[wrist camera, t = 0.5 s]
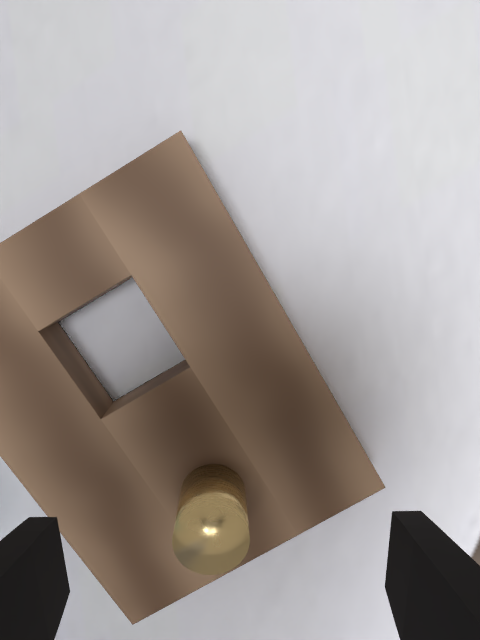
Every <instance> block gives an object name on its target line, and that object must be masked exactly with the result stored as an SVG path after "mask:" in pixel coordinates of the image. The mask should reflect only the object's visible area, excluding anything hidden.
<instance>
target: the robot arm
mask: <svg viewBox="0 0 480 640" xmlns="http://www.w3.org/2000/svg"><path fill="white" fill-rule="evenodd" d="M385 589H386V592H387V596H388V599H389V603H390V607H391V610H392V614H393V617H394V620H395V624H396V627H397V630H398V634H399V637H400V640H480V566H479V565H478V564H477V563H476V562H475V561H474V560H473V559H472V558H471V557H470V556H469V555H468V554H467V553H465V552H464V551H463V550H462V549H461V548H460V547H459V546H458V545H457V544H456V543H455V542H454V541H453V540H452V539H451V538H449V537H448V536H447V535H446V534H445V533H444V532H443V531H442V530H441V529H440V528H439V527H438V526H437V525H436V524H435V523H434V522H432V521H431V520H430V519H429V518H428V517H427V516H426V515H425V514H424V513H423V512H422V511H392V520H391V530H390V540H389V550H388V560H387V570H386V580H385ZM69 593H70V589H69V583H68V577H67V571H66V566H65V560H64V554H63V548H62V543H61V537H60V531H59V525H58V520H57V517H29V518H28V519H26V520H25V521H24V522H23V523H21V524H20V525H19V526H18V527H16V528H15V529H14V530H13V531H11V532H10V533H9V534H8V535H7V536H6V537H4V538H3V539H2V540H1V541H0V640H54V638H55V635H56V633H57V630H58V627H59V624H60V621H61V618H62V615H63V612H64V608H65V605H66V602H67V599H68V596H69Z"/></svg>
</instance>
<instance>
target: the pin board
mask: <svg viewBox="0 0 480 640" xmlns="http://www.w3.org/2000/svg"><path fill="white" fill-rule="evenodd" d="M132 277H133V278H134V280H135V282H136V283H137V285H138V286H139V288H140V289H141V291H142V292H143V294H144V296H145V297H146V299H147V300H148V302H149V303H150V305H151V307H152V308H153V310H154V311H155V313H156V314H157V316H158V317H159V319H160V321H161V322H162V324H163V325H164V327H165V328H166V330H167V331H168V333H169V335H170V336H171V338H172V339H173V341H174V342H175V344H176V345H177V347H178V349H179V350H180V352H181V353H182V355H183V356H184V358H185V359H186V360H184V361H182V362H180V363H179V364H177V365H175V366H174V367H172V368H170V369H168V370H167V371H165V372H163V373H162V374H160V375H158V376H156V377H155V378H153V379H151V380H150V381H148V382H146V383H144V384H143V385H141V386H139V387H138V388H136V389H134V390H132V391H131V392H129V393H127V394H126V395H124V396H122V397H120V398H119V399H117V400H115V401H114V402H113V401H112V399H111V398H110V396H109V395H108V393H107V392H106V391H105V389H104V388H103V386H102V385H101V383H100V382H99V380H98V379H97V378H96V376H95V375H94V373H93V372H92V370H91V369H90V368H89V366H88V365H87V363H86V362H85V360H84V359H83V358H82V356H81V355H80V353H79V352H78V350H77V349H76V348H75V346H74V345H73V343H72V342H71V340H70V339H69V338H68V336H67V335H66V333H65V332H64V330H63V329H62V327H61V326H60V325H59V323H58V322H59V321H61V320H62V319H64V318H66V317H67V316H69V315H71V314H72V313H74V312H76V311H77V310H79V309H81V308H82V307H84V306H86V305H87V304H89V303H91V302H92V301H94V300H96V299H97V298H99V297H101V296H102V295H104V294H106V293H107V292H109V291H110V290H112V289H114V288H115V287H117V286H119V285H120V284H122V283H124V282H125V281H127V280H129V279H130V278H132ZM0 456H1V458H2V459H3V460H4V461H5V463H6V464H7V465H8V467H9V468H10V469H11V470H12V472H13V473H14V474H15V475H16V477H17V478H18V479H19V481H20V482H21V483H22V484H23V486H24V487H25V488H26V489H27V491H28V492H29V493H30V495H31V496H32V497H33V498H34V500H35V501H36V502H37V503H38V505H39V506H40V507H41V509H42V510H43V511H44V512H45V514H46V515H47V516H48V517H57V520H58V525H59V531H60V533H61V534H62V535H63V537H64V538H65V539H66V540H67V542H68V543H69V544H70V545H71V547H72V548H73V549H74V551H75V552H76V553H77V554H78V556H79V557H80V558H81V559H82V561H83V562H84V563H85V565H86V566H87V567H88V568H89V570H90V571H91V572H92V573H93V575H94V576H95V577H96V579H97V580H98V581H99V582H100V584H101V585H102V586H103V587H104V589H105V590H106V591H107V593H108V594H109V595H110V596H111V598H112V599H113V600H114V601H115V603H116V604H117V605H118V607H119V608H120V609H121V610H122V612H123V613H124V614H125V616H126V617H127V618H128V619H129V621H130V622H131V623H132V624H135V623H137V622H139V621H141V620H142V619H144V618H146V617H148V616H150V615H152V614H153V613H155V612H157V611H159V610H161V609H163V608H164V607H166V606H168V605H170V604H172V603H174V602H176V601H177V600H179V599H181V598H183V597H185V596H187V595H188V594H190V593H192V592H194V591H196V590H198V589H199V588H201V587H203V586H205V585H207V584H209V583H211V582H212V581H214V580H216V579H218V578H220V577H222V576H223V575H225V574H227V573H229V572H231V571H233V570H234V569H236V568H238V567H240V566H242V565H244V564H246V563H247V562H249V561H251V560H253V559H255V558H257V557H258V556H260V555H262V554H264V553H266V552H268V551H269V550H271V549H273V548H275V547H277V546H279V545H280V544H282V543H284V542H286V541H288V540H290V539H292V538H293V537H295V536H297V535H299V534H301V533H303V532H304V531H306V530H308V529H310V528H312V527H314V526H315V525H317V524H319V523H321V522H323V521H325V520H327V519H328V518H330V517H332V516H334V515H336V514H338V513H339V512H341V511H343V510H345V509H347V508H349V507H350V506H352V505H354V504H356V503H358V502H360V501H362V500H363V499H365V498H367V497H369V496H371V495H373V494H374V493H376V492H378V491H380V490H382V489H384V488H385V486H384V484H383V482H382V481H381V479H380V477H379V475H378V474H377V472H376V470H375V468H374V467H373V465H372V463H371V461H370V460H369V458H368V456H367V455H366V453H365V451H364V449H363V448H362V446H361V444H360V442H359V441H358V439H357V437H356V435H355V434H354V432H353V430H352V428H351V427H350V425H349V423H348V421H347V420H346V418H345V416H344V414H343V413H342V411H341V409H340V407H339V406H338V404H337V402H336V400H335V399H334V397H333V395H332V393H331V392H330V390H329V388H328V386H327V385H326V383H325V381H324V379H323V378H322V376H321V374H320V372H319V371H318V369H317V367H316V365H315V364H314V362H313V360H312V358H311V357H310V355H309V353H308V351H307V350H306V348H305V346H304V344H303V343H302V341H301V339H300V338H299V336H298V334H297V332H296V331H295V329H294V327H293V325H292V324H291V322H290V320H289V318H288V317H287V315H286V313H285V311H284V310H283V308H282V306H281V304H280V303H279V301H278V299H277V297H276V296H275V294H274V292H273V290H272V289H271V287H270V285H269V283H268V282H267V280H266V278H265V276H264V275H263V273H262V271H261V269H260V268H259V266H258V264H257V262H256V261H255V259H254V257H253V255H252V254H251V252H250V250H249V248H248V247H247V245H246V243H245V241H244V240H243V238H242V236H241V234H240V233H239V231H238V229H237V227H236V226H235V224H234V222H233V221H232V219H231V217H230V215H229V214H228V212H227V210H226V208H225V207H224V205H223V203H222V201H221V200H220V198H219V196H218V194H217V193H216V191H215V189H214V187H213V186H212V184H211V182H210V180H209V179H208V177H207V175H206V173H205V172H204V170H203V168H202V166H201V165H200V163H199V161H198V159H197V158H196V156H195V154H194V152H193V151H192V149H191V147H190V145H189V144H188V142H187V140H186V138H185V137H184V135H183V133H182V131H179V132H178V133H176V134H174V135H173V136H171V137H170V138H168V139H166V140H165V141H163V142H162V143H160V144H158V145H157V146H155V147H154V148H152V149H150V150H149V151H147V152H146V153H144V154H142V155H141V156H139V157H138V158H136V159H134V160H133V161H131V162H130V163H128V164H126V165H125V166H123V167H122V168H120V169H118V170H117V171H115V172H114V173H112V174H110V175H109V176H107V177H106V178H104V179H102V180H101V181H99V182H97V183H96V184H94V185H93V186H91V187H89V188H88V189H86V190H85V191H83V192H81V193H80V194H78V195H77V196H75V197H73V198H72V199H70V200H69V201H67V202H65V203H64V204H62V205H61V206H59V207H57V208H56V209H54V210H53V211H51V212H49V213H48V214H46V215H45V216H43V217H41V218H40V219H38V220H37V221H35V222H33V223H32V224H30V225H29V226H27V227H25V228H24V229H22V230H21V231H19V232H17V233H16V234H14V235H12V236H11V237H9V238H8V239H6V240H4V241H3V242H1V243H0Z"/></svg>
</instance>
